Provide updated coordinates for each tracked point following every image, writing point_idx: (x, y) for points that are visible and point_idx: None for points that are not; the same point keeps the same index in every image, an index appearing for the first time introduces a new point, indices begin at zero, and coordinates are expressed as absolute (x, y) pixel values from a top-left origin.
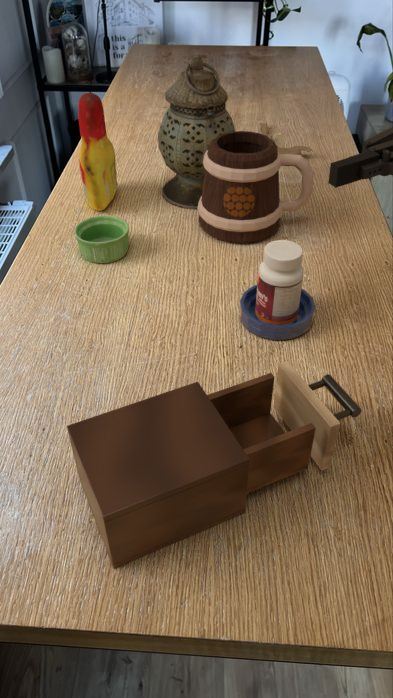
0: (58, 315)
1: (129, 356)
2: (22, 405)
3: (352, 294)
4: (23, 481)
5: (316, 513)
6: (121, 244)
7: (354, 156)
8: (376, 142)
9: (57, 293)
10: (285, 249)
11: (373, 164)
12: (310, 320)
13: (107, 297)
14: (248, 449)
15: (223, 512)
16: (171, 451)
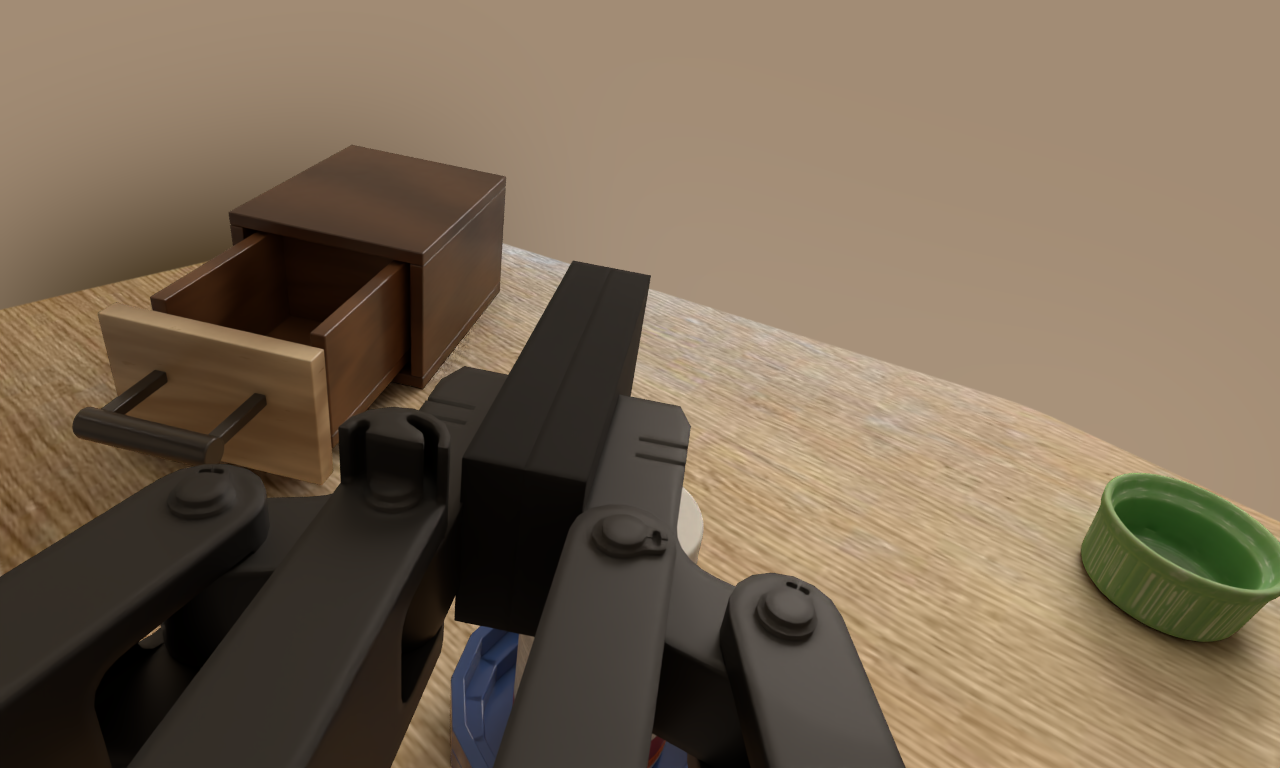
0: (889, 416)
1: (691, 426)
2: (681, 311)
3: None
4: (550, 269)
5: None
6: (1122, 558)
7: (613, 362)
8: (748, 710)
9: (972, 444)
10: None
11: (448, 426)
12: (451, 730)
13: (918, 492)
14: (250, 241)
15: None
16: (349, 190)
